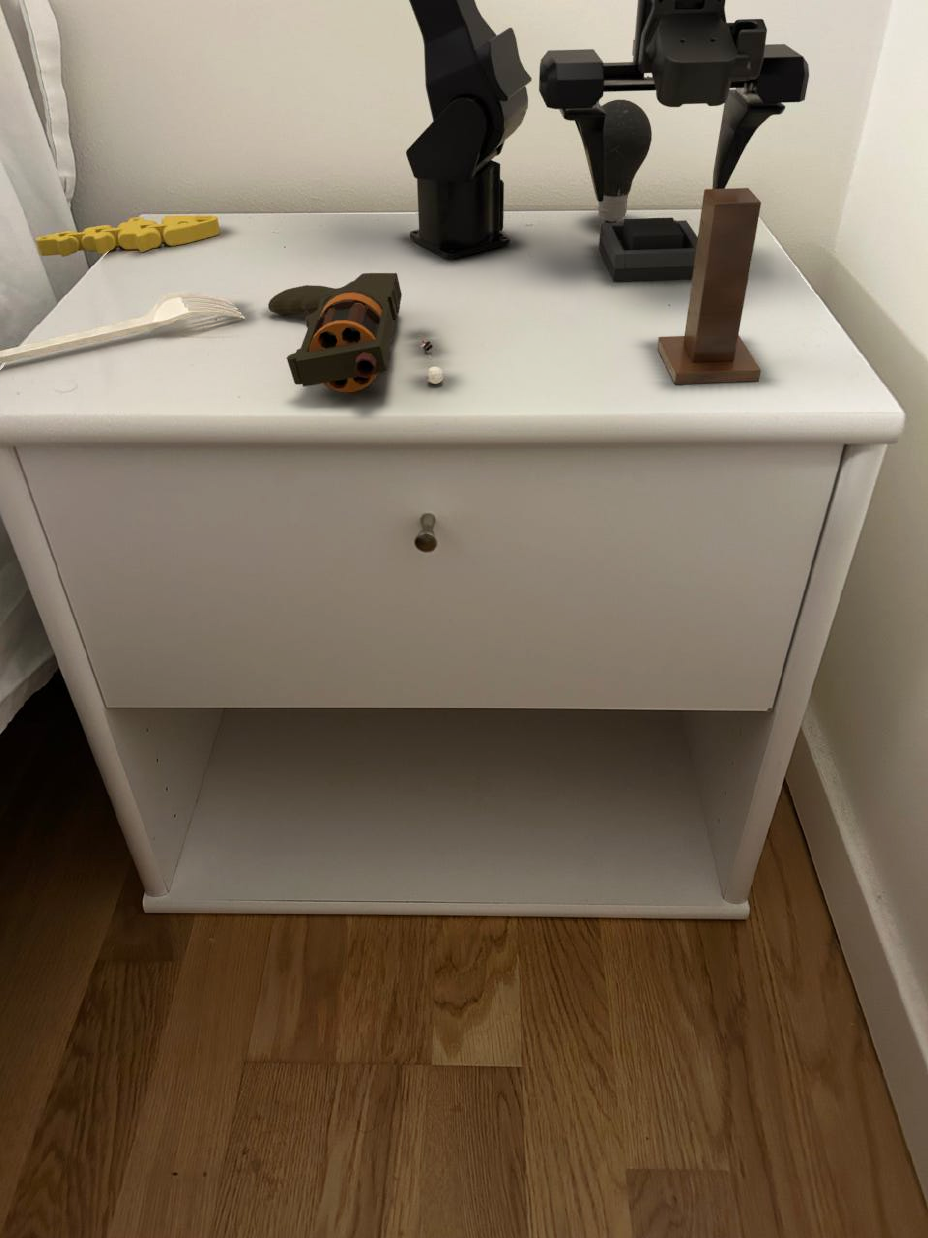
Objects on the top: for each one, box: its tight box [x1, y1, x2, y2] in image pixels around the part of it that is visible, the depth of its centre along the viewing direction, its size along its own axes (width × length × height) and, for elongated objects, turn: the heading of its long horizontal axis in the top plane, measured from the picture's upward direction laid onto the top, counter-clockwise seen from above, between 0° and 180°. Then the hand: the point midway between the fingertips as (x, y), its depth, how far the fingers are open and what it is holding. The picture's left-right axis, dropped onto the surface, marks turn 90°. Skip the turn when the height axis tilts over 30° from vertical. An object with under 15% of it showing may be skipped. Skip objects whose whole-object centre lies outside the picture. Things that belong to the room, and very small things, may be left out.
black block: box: [622, 217, 684, 250], centre depth 81 cm, size 4×4×2 cm
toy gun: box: [267, 272, 403, 393], centre depth 69 cm, size 5×17×10 cm
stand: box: [656, 187, 762, 385], centre depth 65 cm, size 6×6×11 cm
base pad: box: [598, 219, 698, 283], centre depth 82 cm, size 7×7×2 cm
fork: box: [0, 291, 246, 364], centre depth 71 cm, size 3×20×2 cm, turn 120°
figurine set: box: [417, 332, 444, 385], centre depth 69 cm, size 1×8×1 cm
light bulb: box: [597, 99, 653, 223], centre depth 87 cm, size 6×6×10 cm
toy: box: [35, 214, 221, 258], centre depth 87 cm, size 15×1×5 cm
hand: (657, 198), depth 79 cm, fingers open, 9 cm apart
